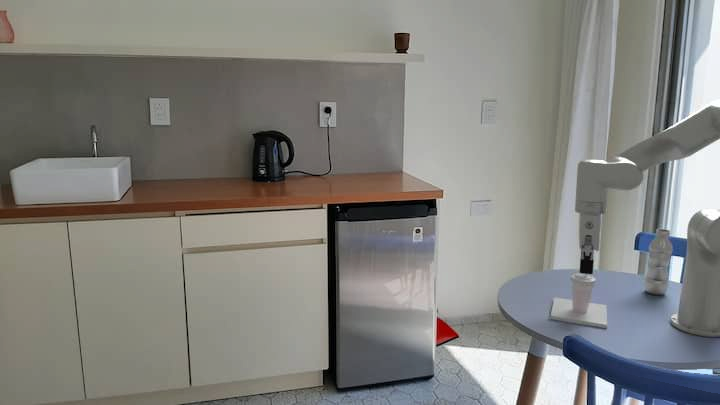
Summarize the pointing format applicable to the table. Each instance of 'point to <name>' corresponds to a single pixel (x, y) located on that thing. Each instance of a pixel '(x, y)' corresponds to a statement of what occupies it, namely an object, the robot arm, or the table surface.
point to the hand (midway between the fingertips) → (586, 267)
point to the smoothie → (581, 291)
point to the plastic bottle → (658, 263)
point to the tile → (592, 317)
